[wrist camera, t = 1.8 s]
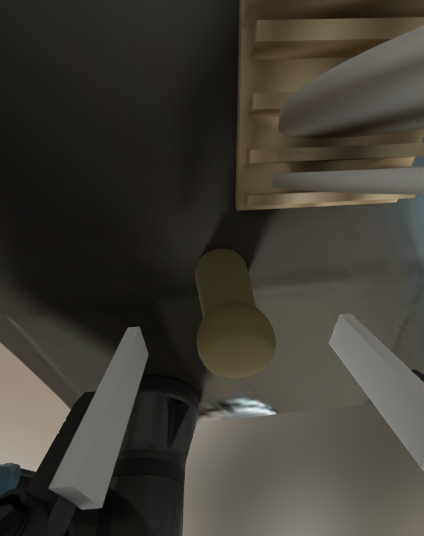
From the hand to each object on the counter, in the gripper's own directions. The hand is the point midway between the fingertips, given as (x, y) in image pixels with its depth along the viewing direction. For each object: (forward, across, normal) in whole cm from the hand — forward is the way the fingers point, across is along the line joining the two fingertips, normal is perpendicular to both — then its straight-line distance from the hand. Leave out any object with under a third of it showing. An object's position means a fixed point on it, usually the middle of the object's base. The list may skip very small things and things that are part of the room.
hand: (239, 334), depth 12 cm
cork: (+9, 0, 0) cm, 9 cm away
